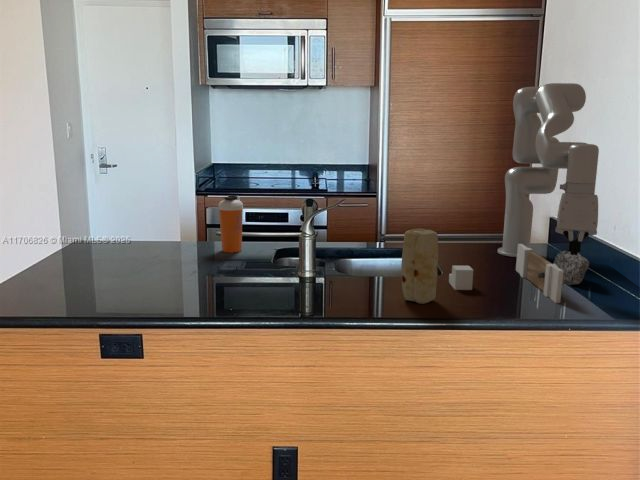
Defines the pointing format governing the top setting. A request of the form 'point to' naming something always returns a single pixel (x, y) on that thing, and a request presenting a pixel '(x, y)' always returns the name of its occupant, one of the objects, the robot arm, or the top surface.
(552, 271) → the door frame
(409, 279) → the food model
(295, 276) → the top surface
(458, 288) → the white stepped block
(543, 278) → the door
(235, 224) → the shaker bottle
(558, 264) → the rock
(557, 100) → the robot arm
